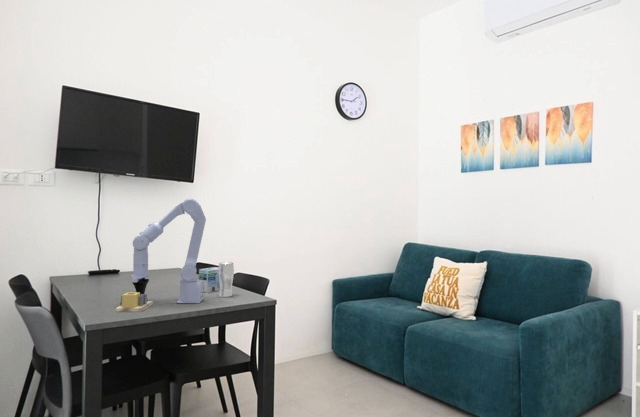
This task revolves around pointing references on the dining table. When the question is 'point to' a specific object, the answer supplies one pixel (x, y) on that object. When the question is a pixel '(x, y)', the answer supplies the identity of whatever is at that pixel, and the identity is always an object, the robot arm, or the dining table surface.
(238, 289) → the dining table surface
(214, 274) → the light bulb box
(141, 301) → the housing
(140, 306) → the base plate
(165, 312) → the dining table surface
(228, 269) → the beer glass
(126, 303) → the block
